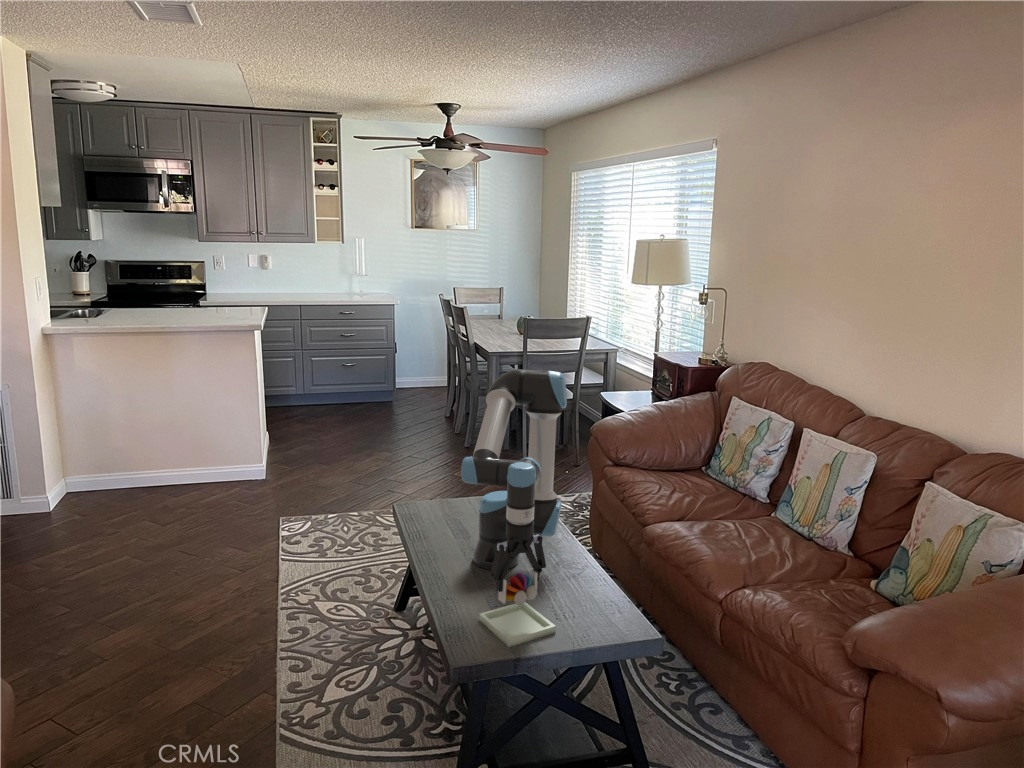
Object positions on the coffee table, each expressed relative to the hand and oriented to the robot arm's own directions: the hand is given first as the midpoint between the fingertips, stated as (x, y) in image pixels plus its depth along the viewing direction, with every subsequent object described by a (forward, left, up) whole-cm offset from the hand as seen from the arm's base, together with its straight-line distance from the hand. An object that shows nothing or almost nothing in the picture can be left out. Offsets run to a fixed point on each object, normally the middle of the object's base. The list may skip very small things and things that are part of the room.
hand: (517, 596), depth 200 cm
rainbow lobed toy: (0, 0, -1) cm, 1 cm away
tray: (0, 0, -9) cm, 9 cm away
